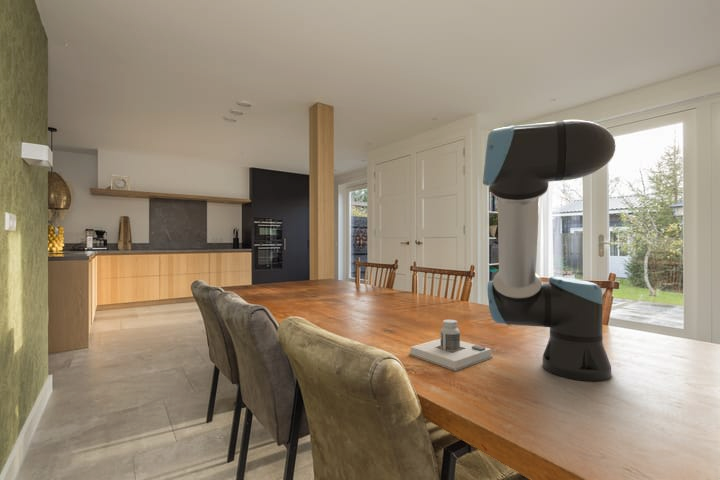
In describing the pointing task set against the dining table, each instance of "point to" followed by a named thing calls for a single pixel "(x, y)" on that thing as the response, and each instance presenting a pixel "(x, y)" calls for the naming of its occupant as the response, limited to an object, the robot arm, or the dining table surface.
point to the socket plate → (451, 354)
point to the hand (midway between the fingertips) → (515, 258)
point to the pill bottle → (450, 336)
